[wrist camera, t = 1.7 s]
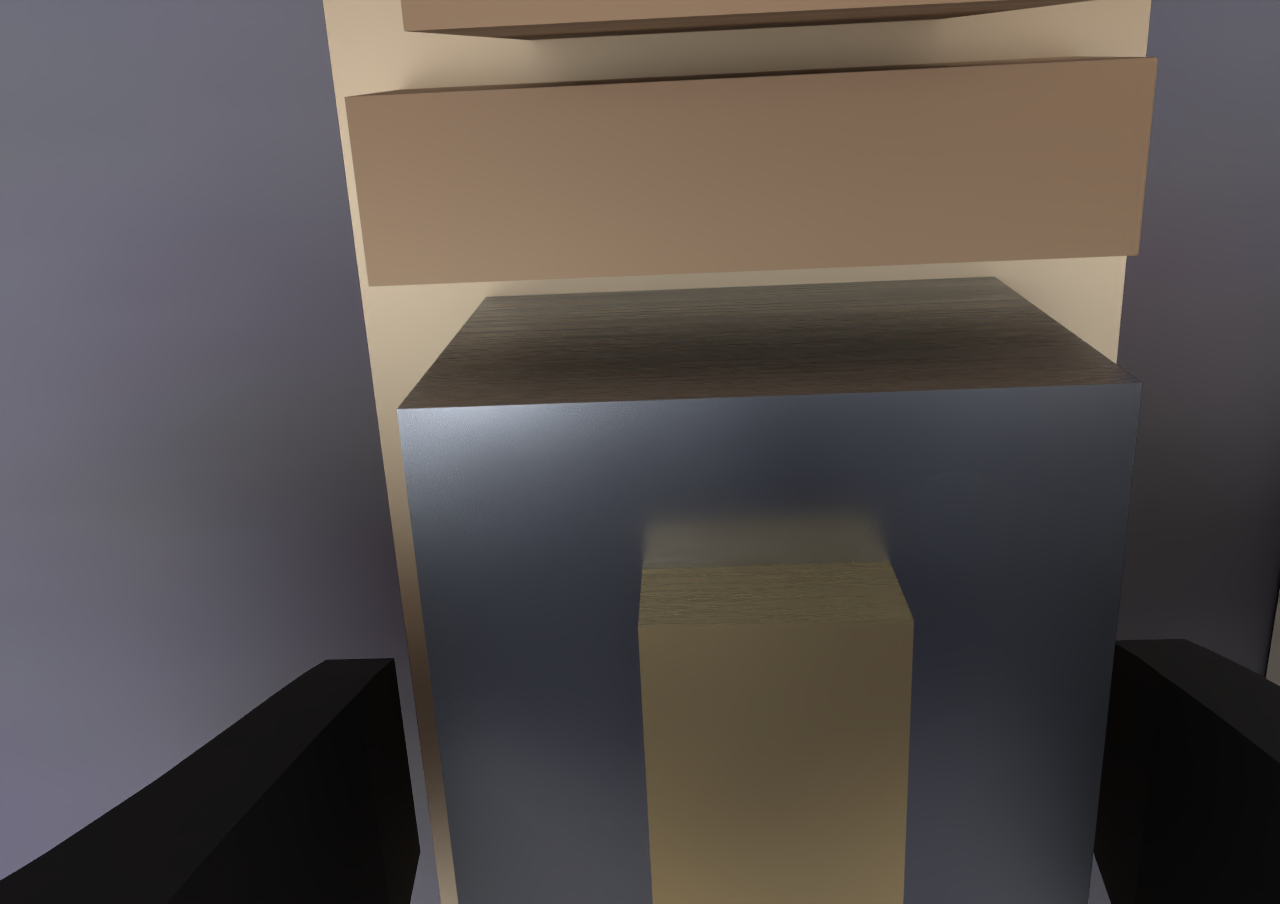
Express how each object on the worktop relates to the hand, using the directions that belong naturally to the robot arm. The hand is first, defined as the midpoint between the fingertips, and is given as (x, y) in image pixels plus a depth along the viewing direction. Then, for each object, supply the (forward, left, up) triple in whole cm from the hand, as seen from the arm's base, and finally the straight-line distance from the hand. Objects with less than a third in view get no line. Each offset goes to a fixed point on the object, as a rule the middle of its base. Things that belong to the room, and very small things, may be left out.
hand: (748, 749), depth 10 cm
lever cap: (0, 0, 0) cm, 0 cm away
